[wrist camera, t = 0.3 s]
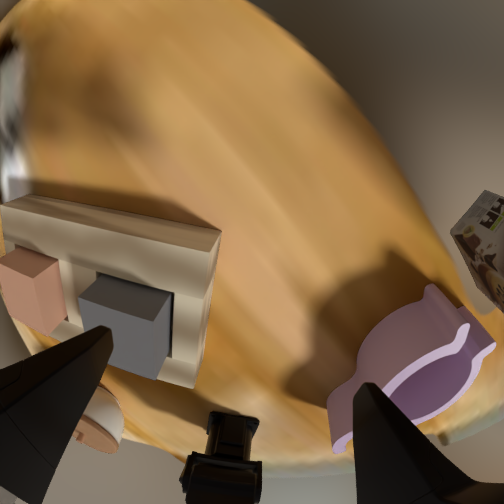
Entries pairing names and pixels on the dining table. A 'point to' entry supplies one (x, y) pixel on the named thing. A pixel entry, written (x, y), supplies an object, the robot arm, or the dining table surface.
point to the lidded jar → (101, 423)
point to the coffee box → (484, 244)
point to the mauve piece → (414, 362)
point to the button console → (124, 265)
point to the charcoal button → (130, 322)
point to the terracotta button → (33, 289)
